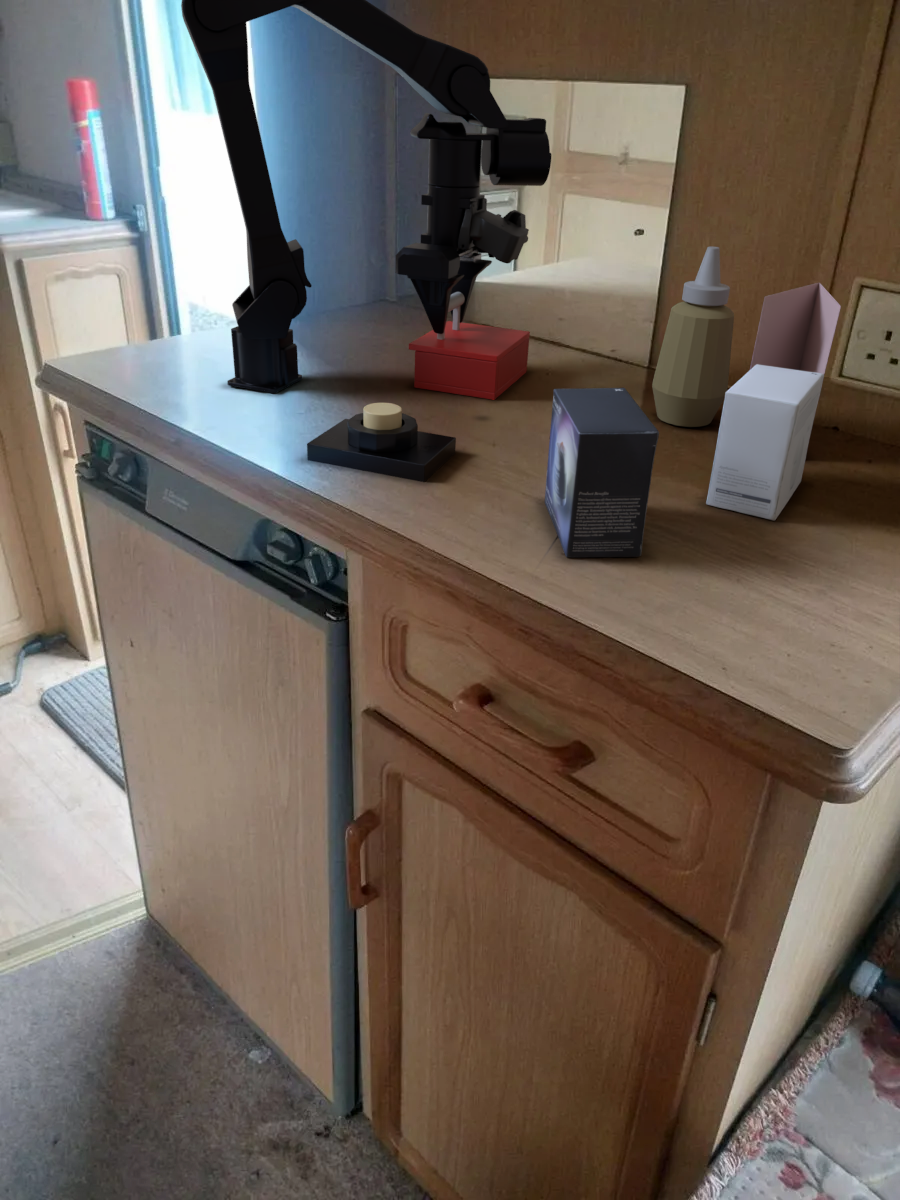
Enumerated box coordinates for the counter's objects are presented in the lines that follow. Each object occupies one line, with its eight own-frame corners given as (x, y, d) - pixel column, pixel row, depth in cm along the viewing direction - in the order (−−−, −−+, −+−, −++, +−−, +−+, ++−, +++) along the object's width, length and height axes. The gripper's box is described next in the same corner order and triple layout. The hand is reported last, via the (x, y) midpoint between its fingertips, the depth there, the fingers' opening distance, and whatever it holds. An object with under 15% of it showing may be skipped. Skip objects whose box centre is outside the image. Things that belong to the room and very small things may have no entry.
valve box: (414, 387, 107) (414, 351, 105) (452, 361, 117) (453, 327, 115) (494, 400, 104) (496, 362, 102) (526, 372, 114) (529, 337, 112)
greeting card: (779, 420, 102) (811, 281, 94) (844, 438, 97) (882, 293, 90) (726, 444, 94) (756, 295, 87) (793, 464, 90) (831, 309, 82)
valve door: (408, 349, 105) (408, 304, 103) (448, 326, 115) (449, 284, 113) (496, 362, 102) (499, 315, 99) (529, 337, 112) (533, 294, 110)
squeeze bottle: (727, 415, 102) (760, 246, 93) (713, 437, 96) (748, 257, 87) (656, 403, 105) (682, 238, 96) (638, 424, 99) (664, 248, 90)
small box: (538, 502, 80) (549, 385, 75) (611, 502, 80) (627, 385, 75) (561, 558, 71) (575, 429, 65) (643, 558, 71) (664, 430, 66)
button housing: (307, 460, 86) (305, 425, 85) (345, 434, 93) (344, 400, 91) (424, 482, 83) (425, 446, 81) (455, 453, 89) (457, 419, 88)
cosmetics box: (733, 468, 89) (755, 360, 83) (800, 483, 86) (828, 373, 81) (701, 504, 81) (723, 388, 76) (774, 522, 78) (803, 403, 73)
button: (357, 429, 85) (356, 411, 84) (373, 417, 88) (373, 400, 87) (392, 435, 84) (392, 417, 83) (407, 423, 87) (407, 405, 86)
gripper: (495, 199, 91) (486, 355, 99) (546, 183, 106) (535, 319, 114) (393, 190, 94) (392, 342, 102) (457, 176, 109) (452, 309, 117)
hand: (448, 327), depth 109 cm, fingers closed on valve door, 6 cm apart
